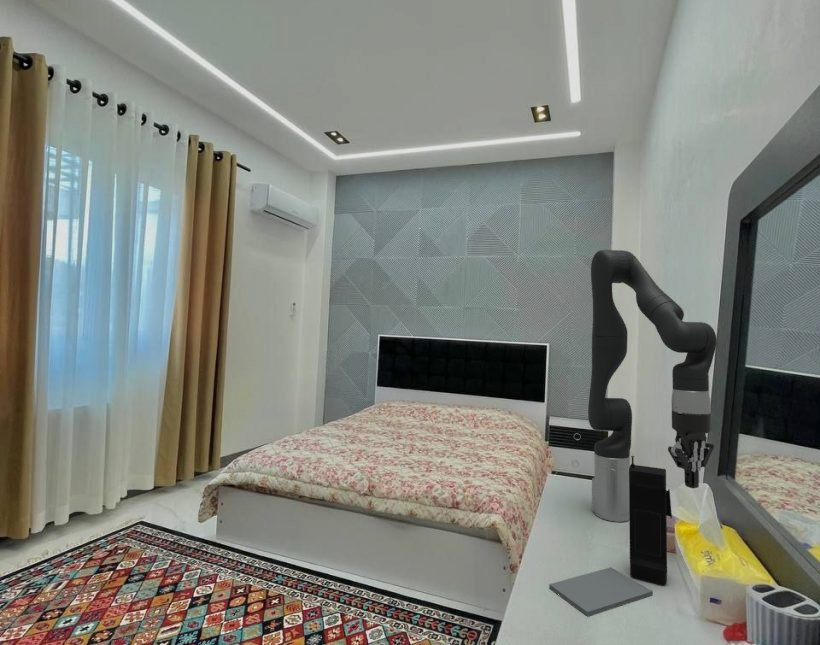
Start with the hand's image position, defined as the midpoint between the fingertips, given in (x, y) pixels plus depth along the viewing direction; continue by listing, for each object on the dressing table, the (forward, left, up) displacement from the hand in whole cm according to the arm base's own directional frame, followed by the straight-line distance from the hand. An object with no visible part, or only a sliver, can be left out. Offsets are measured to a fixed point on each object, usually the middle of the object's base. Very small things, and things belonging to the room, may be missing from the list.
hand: (691, 487), depth 101 cm
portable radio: (0, -13, -17) cm, 22 cm away
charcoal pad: (0, -28, -17) cm, 33 cm away
